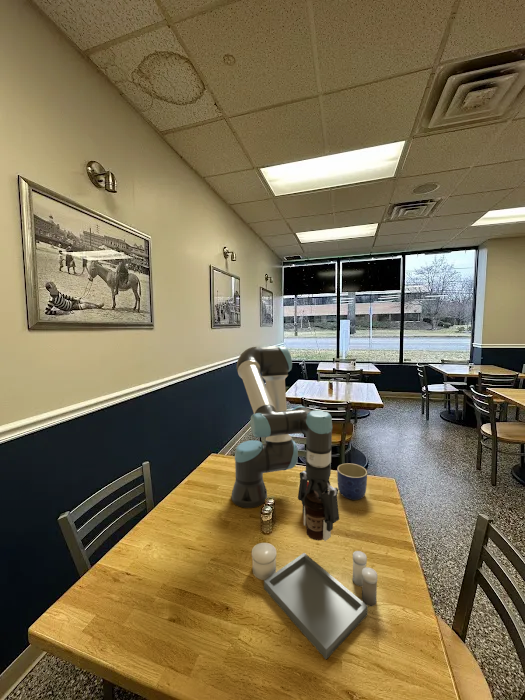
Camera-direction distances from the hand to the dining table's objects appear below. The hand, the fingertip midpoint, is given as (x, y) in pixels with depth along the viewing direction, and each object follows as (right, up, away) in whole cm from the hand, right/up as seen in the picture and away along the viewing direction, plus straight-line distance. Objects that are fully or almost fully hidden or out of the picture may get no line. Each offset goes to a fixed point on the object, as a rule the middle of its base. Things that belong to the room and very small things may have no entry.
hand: (316, 530), depth 92 cm
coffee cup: (0, -1, 0) cm, 1 cm away
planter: (+22, -6, +34) cm, 41 cm away
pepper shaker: (+11, -10, -14) cm, 21 cm away
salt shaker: (+11, -9, -8) cm, 16 cm away
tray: (-4, -10, -14) cm, 18 cm away
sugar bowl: (-17, -9, -4) cm, 20 cm away
